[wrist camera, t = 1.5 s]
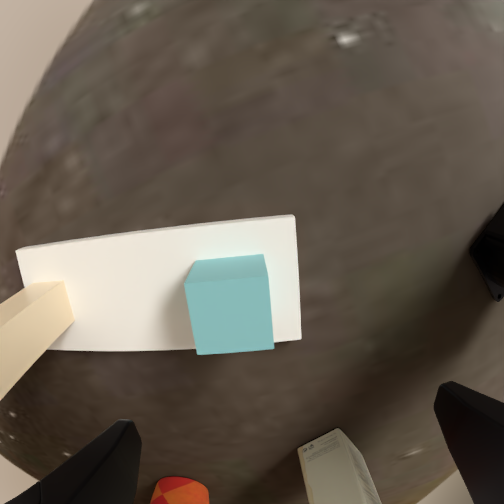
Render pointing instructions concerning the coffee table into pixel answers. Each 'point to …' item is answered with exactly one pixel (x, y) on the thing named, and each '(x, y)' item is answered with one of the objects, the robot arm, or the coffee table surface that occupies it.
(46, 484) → the robot arm
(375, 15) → the coffee table surface
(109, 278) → the white base with post
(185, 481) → the paper cup
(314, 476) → the skincare box
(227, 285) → the teal block
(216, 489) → the coffee table surface
